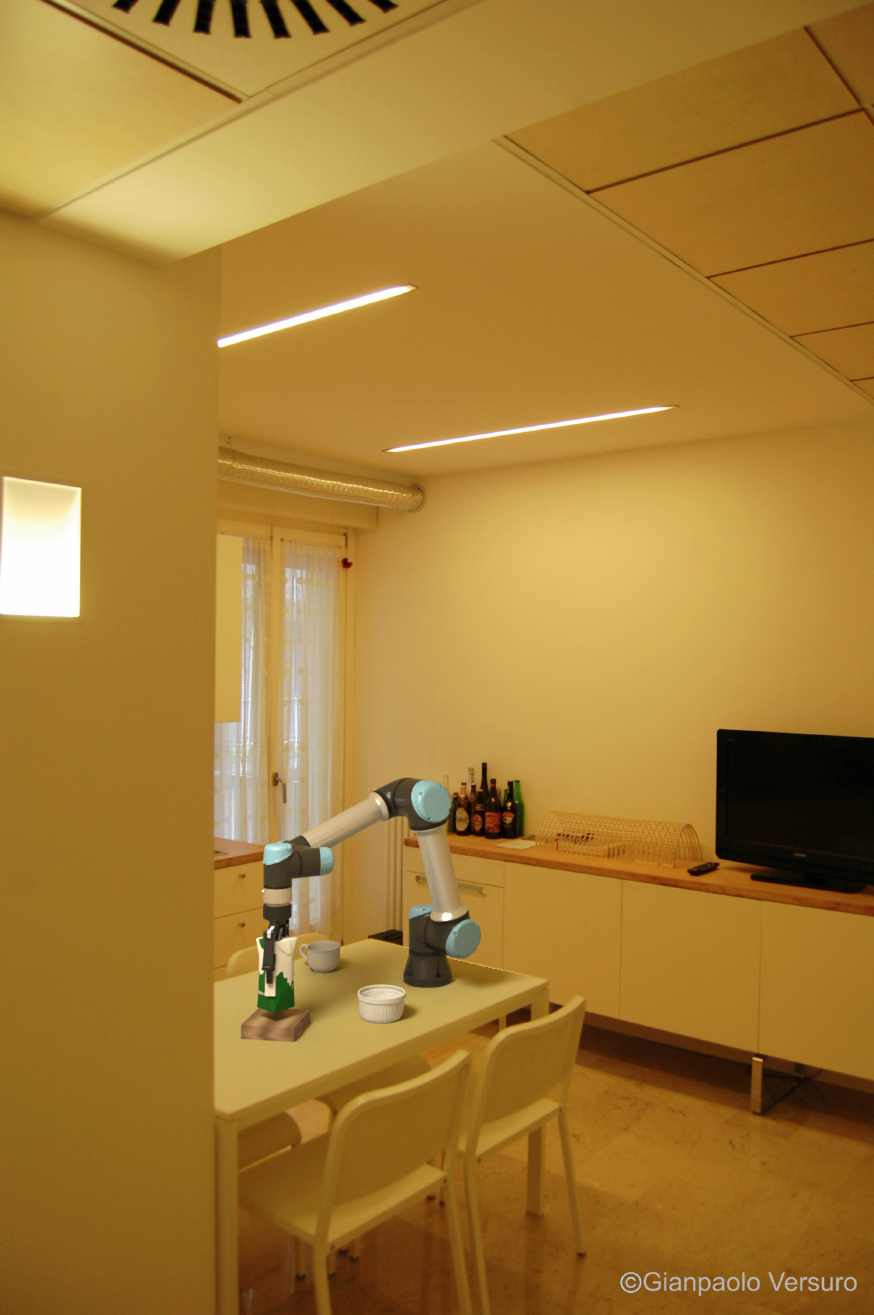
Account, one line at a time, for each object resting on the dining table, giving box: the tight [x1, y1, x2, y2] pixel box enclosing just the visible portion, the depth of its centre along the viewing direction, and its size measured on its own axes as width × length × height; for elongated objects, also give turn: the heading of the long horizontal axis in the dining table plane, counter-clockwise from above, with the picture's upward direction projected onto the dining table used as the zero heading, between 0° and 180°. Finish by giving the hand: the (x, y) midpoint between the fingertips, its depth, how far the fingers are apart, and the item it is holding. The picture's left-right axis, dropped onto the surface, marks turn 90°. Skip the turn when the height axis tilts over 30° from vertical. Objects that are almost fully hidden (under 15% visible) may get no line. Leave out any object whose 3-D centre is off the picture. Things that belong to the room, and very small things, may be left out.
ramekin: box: [357, 984, 407, 1024], centre depth 262 cm, size 13×13×7 cm
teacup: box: [298, 940, 341, 974], centre depth 307 cm, size 14×11×8 cm
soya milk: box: [255, 930, 298, 1013], centre depth 251 cm, size 9×9×20 cm
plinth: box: [240, 1007, 311, 1043], centre depth 250 cm, size 14×14×4 cm
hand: (276, 990), depth 251 cm, fingers closed on soya milk, 9 cm apart
